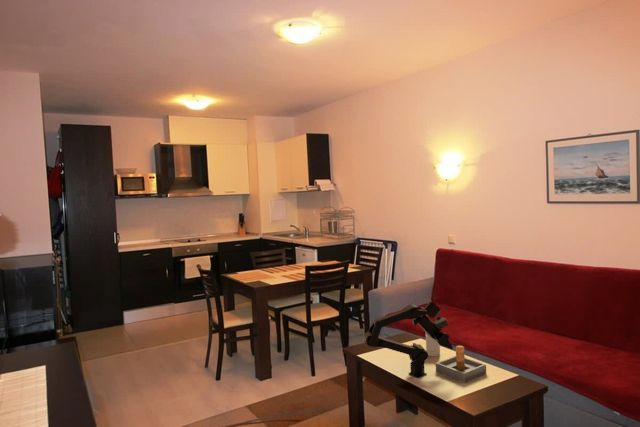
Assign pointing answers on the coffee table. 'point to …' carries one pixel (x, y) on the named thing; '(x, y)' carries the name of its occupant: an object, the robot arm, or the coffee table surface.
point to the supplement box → (432, 347)
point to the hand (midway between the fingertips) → (448, 345)
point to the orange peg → (460, 358)
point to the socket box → (470, 372)
